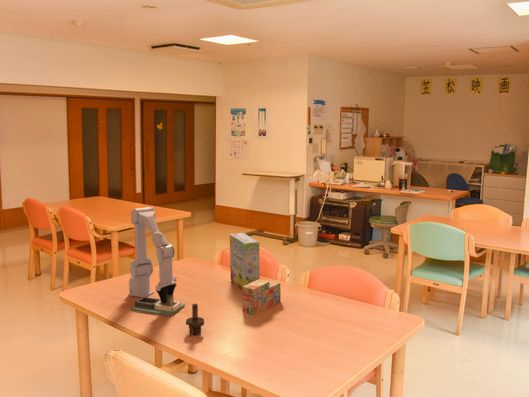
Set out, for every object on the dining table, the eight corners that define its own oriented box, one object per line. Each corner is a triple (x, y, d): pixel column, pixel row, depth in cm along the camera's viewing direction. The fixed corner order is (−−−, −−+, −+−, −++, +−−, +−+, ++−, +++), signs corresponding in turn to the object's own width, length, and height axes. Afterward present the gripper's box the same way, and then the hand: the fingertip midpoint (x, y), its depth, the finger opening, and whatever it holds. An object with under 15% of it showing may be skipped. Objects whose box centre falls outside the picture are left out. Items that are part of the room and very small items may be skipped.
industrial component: (192, 338, 197) (191, 309, 195) (182, 332, 203) (181, 304, 201) (211, 331, 204) (211, 303, 202) (201, 326, 209) (200, 298, 207)
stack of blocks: (269, 298, 241) (270, 274, 239) (280, 301, 238) (280, 276, 236) (242, 312, 224) (242, 286, 222) (253, 315, 220) (253, 288, 218)
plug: (161, 308, 225) (161, 296, 224) (165, 305, 228) (165, 294, 228) (169, 309, 224) (169, 297, 223) (173, 306, 227) (173, 295, 226)
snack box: (228, 281, 266) (228, 233, 262) (244, 278, 270) (243, 232, 266) (244, 294, 247) (244, 243, 243) (260, 291, 251) (260, 241, 247)
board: (131, 310, 225) (130, 304, 225) (147, 300, 238) (147, 294, 237) (170, 316, 219) (169, 310, 218) (184, 306, 231) (184, 299, 230)
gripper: (165, 277, 216) (165, 307, 218) (181, 268, 229) (182, 296, 231) (150, 276, 218) (151, 305, 220) (168, 266, 231) (169, 295, 234)
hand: (166, 301), depth 226 cm, fingers open, 4 cm apart
